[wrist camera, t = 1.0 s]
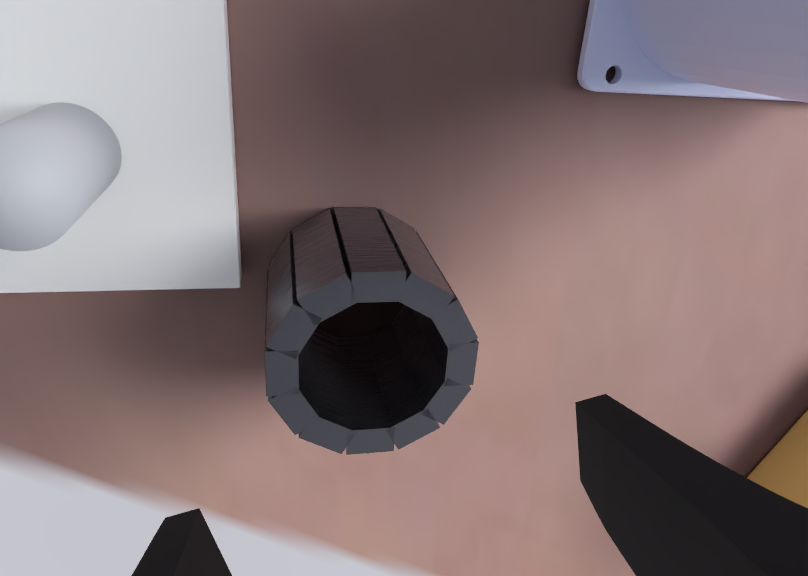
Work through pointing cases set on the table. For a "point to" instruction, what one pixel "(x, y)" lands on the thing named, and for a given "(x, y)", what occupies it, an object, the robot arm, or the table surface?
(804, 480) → the rubber stamp
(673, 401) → the table surface
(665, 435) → the robot arm
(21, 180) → the white square peg stand
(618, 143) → the table surface
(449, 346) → the gray grooved hollow cylinder
